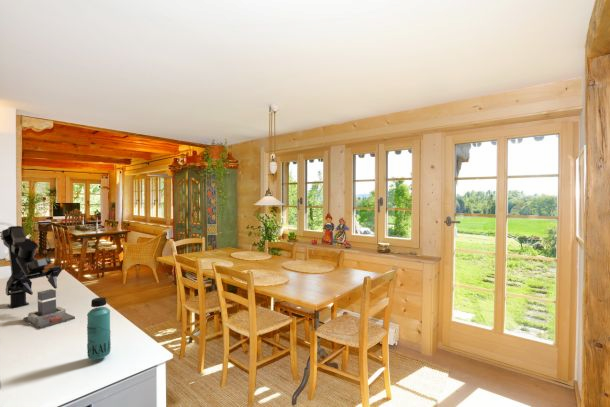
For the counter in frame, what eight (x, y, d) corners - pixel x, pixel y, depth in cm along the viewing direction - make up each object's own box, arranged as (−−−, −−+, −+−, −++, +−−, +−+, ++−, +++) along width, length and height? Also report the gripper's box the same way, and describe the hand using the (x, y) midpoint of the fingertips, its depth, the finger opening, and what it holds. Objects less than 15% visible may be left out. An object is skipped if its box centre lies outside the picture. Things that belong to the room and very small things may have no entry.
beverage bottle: (94, 354, 104) (93, 295, 104) (115, 353, 104) (114, 294, 104) (82, 365, 97) (81, 302, 97) (104, 364, 98) (103, 301, 98)
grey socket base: (23, 320, 134) (23, 313, 134) (56, 311, 144) (56, 304, 144) (40, 329, 125) (40, 321, 125) (74, 318, 135) (74, 312, 135)
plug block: (37, 317, 134) (37, 292, 134) (51, 313, 139) (51, 289, 138) (42, 319, 132) (41, 293, 132) (56, 315, 137) (55, 290, 137)
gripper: (9, 256, 129) (26, 285, 125) (59, 248, 146) (75, 274, 142) (-1, 273, 132) (15, 302, 128) (48, 264, 149) (64, 289, 145)
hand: (44, 291), depth 136 cm, fingers open, 9 cm apart
